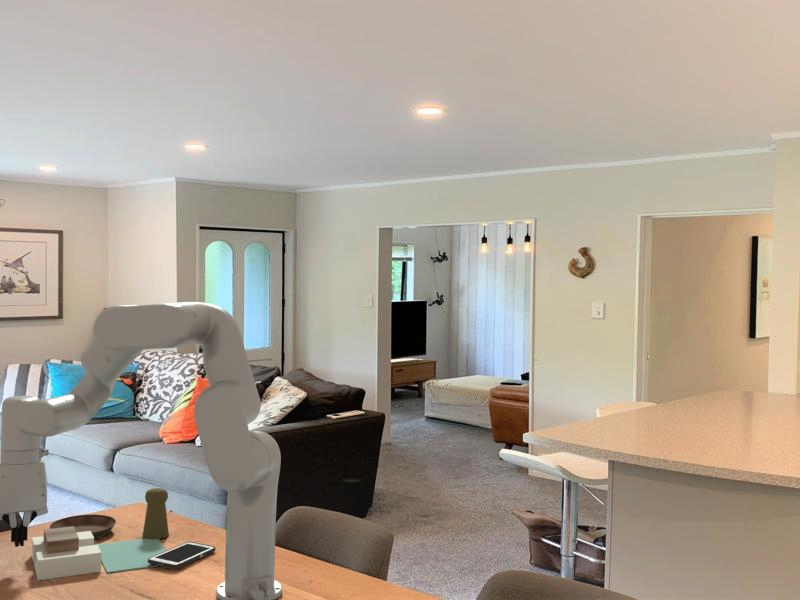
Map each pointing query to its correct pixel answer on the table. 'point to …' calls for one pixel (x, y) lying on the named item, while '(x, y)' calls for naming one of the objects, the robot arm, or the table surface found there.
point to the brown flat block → (61, 540)
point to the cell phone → (181, 555)
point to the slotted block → (66, 558)
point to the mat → (129, 554)
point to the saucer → (87, 524)
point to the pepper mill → (156, 514)
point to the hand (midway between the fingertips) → (19, 544)
